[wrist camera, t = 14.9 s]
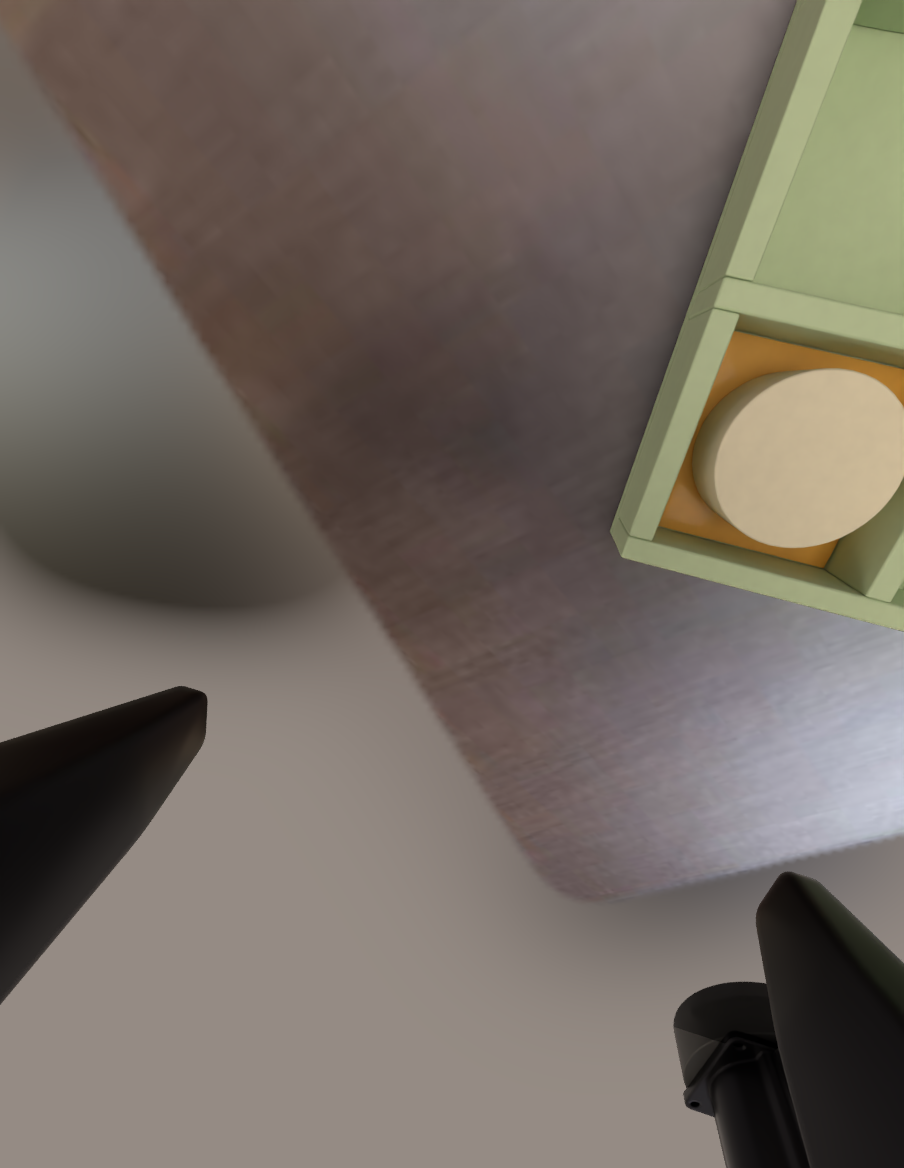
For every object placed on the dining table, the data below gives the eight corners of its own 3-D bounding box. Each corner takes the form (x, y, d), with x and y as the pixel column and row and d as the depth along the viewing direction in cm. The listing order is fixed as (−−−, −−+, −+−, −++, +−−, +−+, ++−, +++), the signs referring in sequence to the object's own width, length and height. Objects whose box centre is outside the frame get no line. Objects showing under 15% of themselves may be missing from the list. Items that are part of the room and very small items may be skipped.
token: (813, 543, 16) (854, 567, 14) (668, 506, 17) (687, 524, 15) (891, 392, 15) (953, 393, 12) (728, 354, 15) (760, 348, 13)
